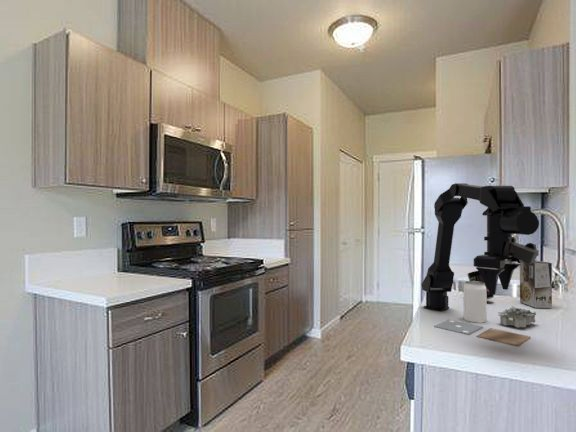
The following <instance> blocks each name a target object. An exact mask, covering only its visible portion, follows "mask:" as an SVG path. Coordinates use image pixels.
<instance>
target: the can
mask: <svg viewBox="0 0 576 432" xmlns="http://www.w3.org/2000/svg"><path fill="white" fill-rule="evenodd" d="M463 285H464V286H463V320H465V321H467V322H471V323H486V322H487V317H488V316H487V313H488V312H487V310H488V309H487V305H488V304H487V300H488V299H487V294H486V287H485V283H484V282H479V281H469V280H467V281H466V280H465V282H464V284H463Z"/></svg>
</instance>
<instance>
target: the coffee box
mask: <svg viewBox="0 0 576 432" xmlns="http://www.w3.org/2000/svg"><path fill="white" fill-rule="evenodd" d="M519 264H521V265H520V266H519V302H520V303H521V304H524V305H526V306H529V307H532V308H534V309H536V308H537V309H539V308H542V309H552V308H553V306H552V305H553V303H552V302H553V299H552V298H553V296H552V295H553V294H552V292H553V291H552V290H553V285H552V284H553V277H552V276H553V275H552V274H553V273H552V272H553V267H552V265H553V263H552V262H548V261H542V260H537V259H535V262H534V263H531V264H528V263H525V262H522V263H519Z"/></svg>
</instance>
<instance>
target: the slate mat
mask: <svg viewBox="0 0 576 432" xmlns="http://www.w3.org/2000/svg"><path fill="white" fill-rule="evenodd" d="M433 327H434V328H438V329H441V330H446V331H450V332H454V333H459V334H463V335H466V336H470V335H472V334H474V333H476V332H478V331H480V330H482V329H484V326H482V325H477V324H472V323H468V322H463V321H459V320H453V319H447V320H445V321H442V322H440V323H437V324H436V325H433Z"/></svg>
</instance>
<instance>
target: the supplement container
mask: <svg viewBox="0 0 576 432" xmlns="http://www.w3.org/2000/svg"><path fill="white" fill-rule="evenodd" d="M466 275H467V278H468V281H479V282H484V280H483V278H482V277H481V275H480V273H479V271H478V270H475V271H470V272H469V273H467V274H466ZM484 283H485V282H484ZM485 287H486V294H487V300H490V299H493V298H494V297H495V295H492V294H490V292H489V290H488V288H487V286H486V284H485Z"/></svg>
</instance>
